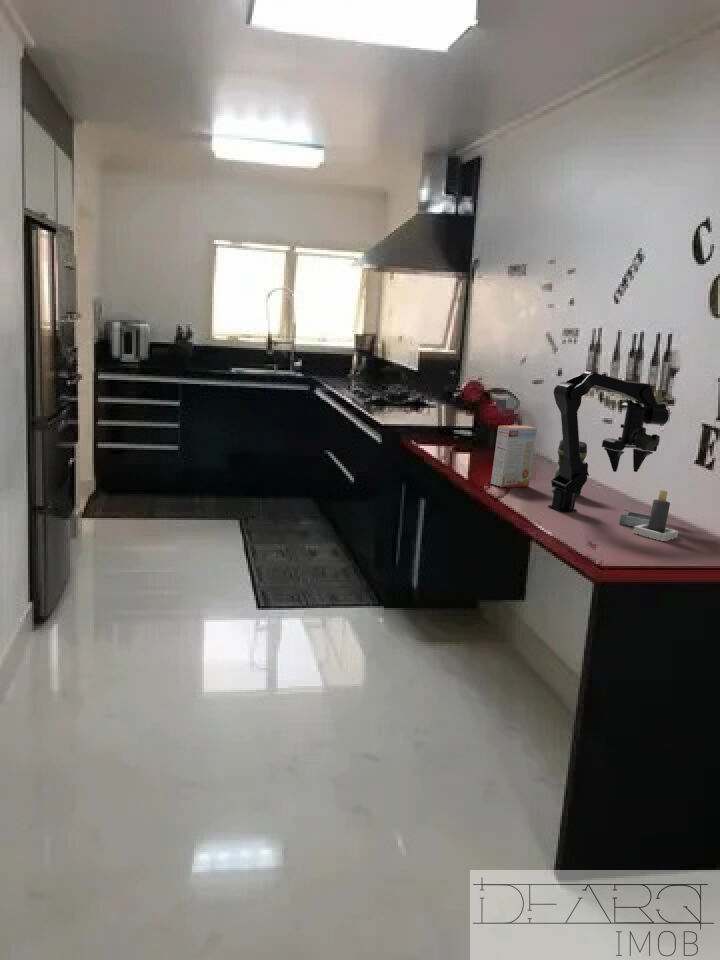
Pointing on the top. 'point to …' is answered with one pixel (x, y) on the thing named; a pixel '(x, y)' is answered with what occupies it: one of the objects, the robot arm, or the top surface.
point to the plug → (659, 513)
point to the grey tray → (633, 518)
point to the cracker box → (513, 456)
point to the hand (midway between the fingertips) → (625, 471)
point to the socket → (655, 533)
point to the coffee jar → (561, 456)
